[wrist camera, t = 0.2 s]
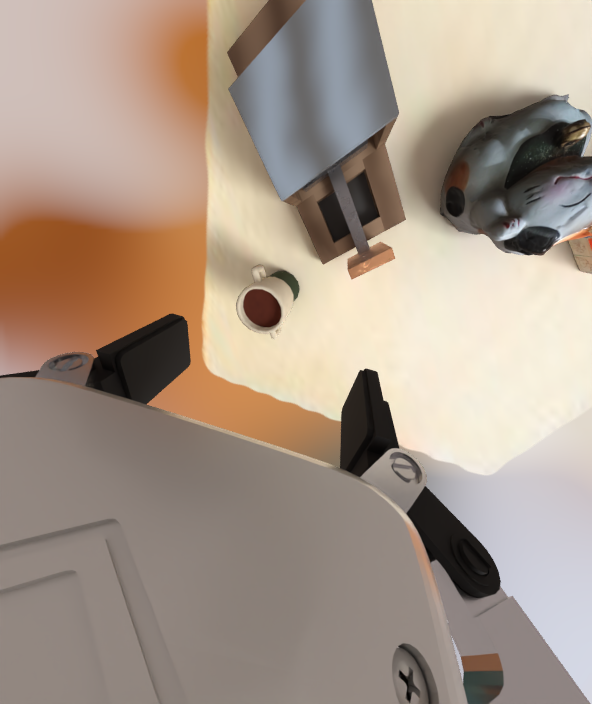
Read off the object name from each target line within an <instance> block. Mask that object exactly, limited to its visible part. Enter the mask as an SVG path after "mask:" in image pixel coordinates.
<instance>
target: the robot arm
mask: <svg viewBox="0 0 592 704" xmlns="http://www.w3.org/2000/svg"><path fill="white" fill-rule="evenodd" d="M96 351H97V354H98V357H97V358H95V359H94V357H93V356H92V355H91V354H88V353H84V352H72V353H65V354H62V355H58V356H56V357H53V358H51V359H49V360H47V361H46V362H45V363H44V364H43V365H42V367H41V369H40V370H38V371H30V372H23V373H16V374H9V375H2V376H0V704H590V703H589V701H588V700H587V698H586V697H585V696H584V694H583V693H582V692H581V690H580V689H579V687H578V686H577V685H576V683H575V682H574V680H573V679H572V678H571V676H570V675H569V674H568V672H567V671H566V669H565V668H564V667H563V665H562V664H561V662H560V661H559V660H558V658H557V657H556V655H555V654H554V653H553V651H552V650H551V649H550V647H549V646H548V644H547V643H546V642H545V640H544V639H543V637H542V636H541V635H540V633H539V632H538V631H537V629H536V628H535V626H534V625H533V624H532V622H531V621H530V620H529V618H528V617H527V615H526V614H525V613H524V611H523V610H522V608H521V607H520V606H519V604H518V603H517V602H516V600H515V599H514V598H513V596H511V597H508V596H507V595H506V594H505V592H504V591H503V589H502V588H501V587H500V582H501V581H500V577H499V572H498V569H497V567H496V565H495V563H494V561H493V559H492V558H491V556H490V554H489V553H488V551H487V550H486V549H485V548H484V546H483V545H482V544H481V543H480V542H479V541H478V540H477V538H476V537H474V536H473V534H472V533H471V532H470V531H468V529H467V528H466V527H465V526H464V525H463V524H462V523H461V522H460V521H459V520H458V519H457V518H456V517H455V516H454V515H453V514H452V513H451V512H450V511H449V510H448V509H447V508H446V507H445V506H444V505H443V504H442V503H441V502H440V501H439V500H438V499H437V498H436V496H435V495H434V494H433V493H432V492H430V490H429V489H428V488H427V487H426V486H425V485H426V482H427V475H426V473H425V470H424V468H423V466H422V465H421V464H420V462H419V461H418V460H417V459H416V458H415V457H414V456H413V455H411V454H410V453H409V452H406V451H405V450H402V449H399V445H398V441H397V437H396V433H395V429H394V424H393V420H392V416H391V412H390V408H389V404H388V402H386V401H383V396H382V391H381V387H380V382H379V378H378V373H377V372H376V371H373V370H369V369H364V371H362V370H360V371H359V373H358V376H357V378H356V380H355V382H354V384H353V386H352V388H351V391H350V393H349V395H348V397H347V399H346V401H345V404H344V406H343V408H342V414H341V455H340V468H338V467H336V466H333V465H330V464H328V463H325V462H322V461H319V460H316V459H314V458H311V457H308V456H305V455H302V454H299V453H296V452H293V451H290V450H287V449H284V448H281V447H277V446H275V445H272V444H268V443H265V442H262V441H259V440H256V439H253V438H250V437H247V436H244V435H241V434H238V433H234V432H231V431H228V430H225V429H222V428H219V427H216V426H213V425H209V424H206V423H203V422H200V421H197V420H194V419H191V418H187V417H184V416H181V415H178V414H175V413H171V412H168V411H165V410H162V409H159V408H156V407H152V406H149V405H146V404H147V403H148V402H149V401H150V400H152V399H153V398H154V397H155V396H156V395H157V394H158V393H159V392H161V391H162V390H163V389H164V388H165V387H166V386H167V385H169V384H170V383H171V382H172V381H173V380H174V379H175V378H176V377H178V376H179V375H180V374H181V373H182V372H183V371H184V370H185V369H186V368H188V367H189V365H190V349H189V338H188V325H187V321H186V320H185V319H184V317H183V316H179V315H176V314H169V315H167V316H165V317H163V318H161V319H159V320H157V321H155V322H153V323H151V324H149V325H147V326H145V327H143V328H141V329H138V330H137V331H134V332H133V333H130V334H129V335H126V336H124V337H123V338H120V339H118V340H116V341H114V342H112V343H110V344H108V345H106V346H104V347H102V348H100V349H98V350H96ZM447 621H448V622H447ZM451 636H452V638H453V639H454V641H455V644H456V646H457V649H458V651H459V654H460V656H461V660H462V665H463V670H464V677H463V682H462V678H461V673H460V669H459V665H458V661H457V658H456V654H455V650H454V646H453V643H452V638H451ZM397 647H399V648H397Z"/></svg>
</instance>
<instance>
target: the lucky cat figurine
mask: <svg viewBox="0 0 592 704" xmlns="http://www.w3.org/2000/svg"><path fill="white" fill-rule="evenodd" d="M568 96H569V94H568V95H565V96H558V95H552V96H549V97H547V98H545V99H544V100H542V101H540V102H537V103H535V104H532V105H530V106H528V107H526V108H524V109H521V110H519V111H516V112H514V113H512V114H509V115H503V116H489V117H488V118H484V119H482V120H481V121H480V122H479V123H478V124H477V125H476V126H474V127H473V128H472V129H471V131H470V132H469V133H468V135H467V136H466V137H465V138H464V140H463V141H462V143H461V145H460V147H459V149H458V151H457V152H456V154H455V156H454V158H453V160H452V162H451V165H450V167H449V170H448V172H447V175H446V177H445V180H444V184H443V188H442V191H441V208H440V214H441V215H442V216H444V217H446V218H448V219H449V220H450V221H451V222H452V224H453V225H454V226H455V227H456V229H457V230H458V231H459V232H466V233H470V234H485V235H486V236H488V237H489V238H490V239H491V240H492V241H493V243H494V244H495V245H496V247H497V248H498V249H500V250H502V251H503V252H505V253H514V254H518V255H533V254H534V255H544V254H545V252H546V251H548V250H549V249H550V248H551V247H552V246H554V245H556V244H558V243H561V242H564V241H567V240H574V239H579V238H583V237H587V236H592V156H591V157H583V155H584V153H585V149H586V147H587V145H588V143H589V140H590V136H591V132H592V119H591V117H590V116H589V114H588V113H587V112H585V111H584V110H579V109H576V108H574V107H573V106H571V105H570V104H569V103H568V102H567V100H568V98H569V97H568Z"/></svg>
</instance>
